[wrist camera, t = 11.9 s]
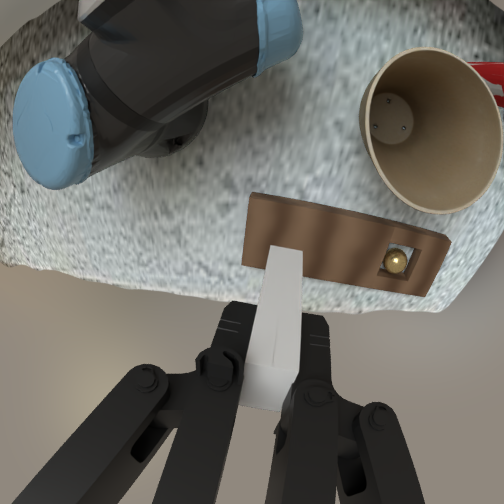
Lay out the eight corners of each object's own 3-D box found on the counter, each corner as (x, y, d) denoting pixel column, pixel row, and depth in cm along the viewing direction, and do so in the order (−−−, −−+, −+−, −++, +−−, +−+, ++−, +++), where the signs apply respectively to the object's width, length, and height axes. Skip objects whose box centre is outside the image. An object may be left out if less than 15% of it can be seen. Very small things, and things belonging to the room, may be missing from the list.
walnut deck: (244, 256, 45) (241, 265, 42) (252, 191, 39) (249, 197, 37) (420, 288, 42) (424, 297, 40) (445, 234, 36) (451, 242, 34)
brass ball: (375, 263, 41) (387, 280, 37) (383, 242, 38) (396, 258, 35) (393, 262, 41) (406, 278, 38) (402, 242, 39) (415, 257, 36)
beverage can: (478, 70, 22) (542, 72, 9) (476, 108, 25) (542, 124, 13) (448, 56, 23) (511, 48, 10) (447, 96, 26) (512, 103, 13)
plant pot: (388, 191, 35) (433, 245, 22) (313, 116, 32) (326, 123, 18) (452, 126, 28) (522, 149, 14) (384, 46, 25) (435, 17, 11)
